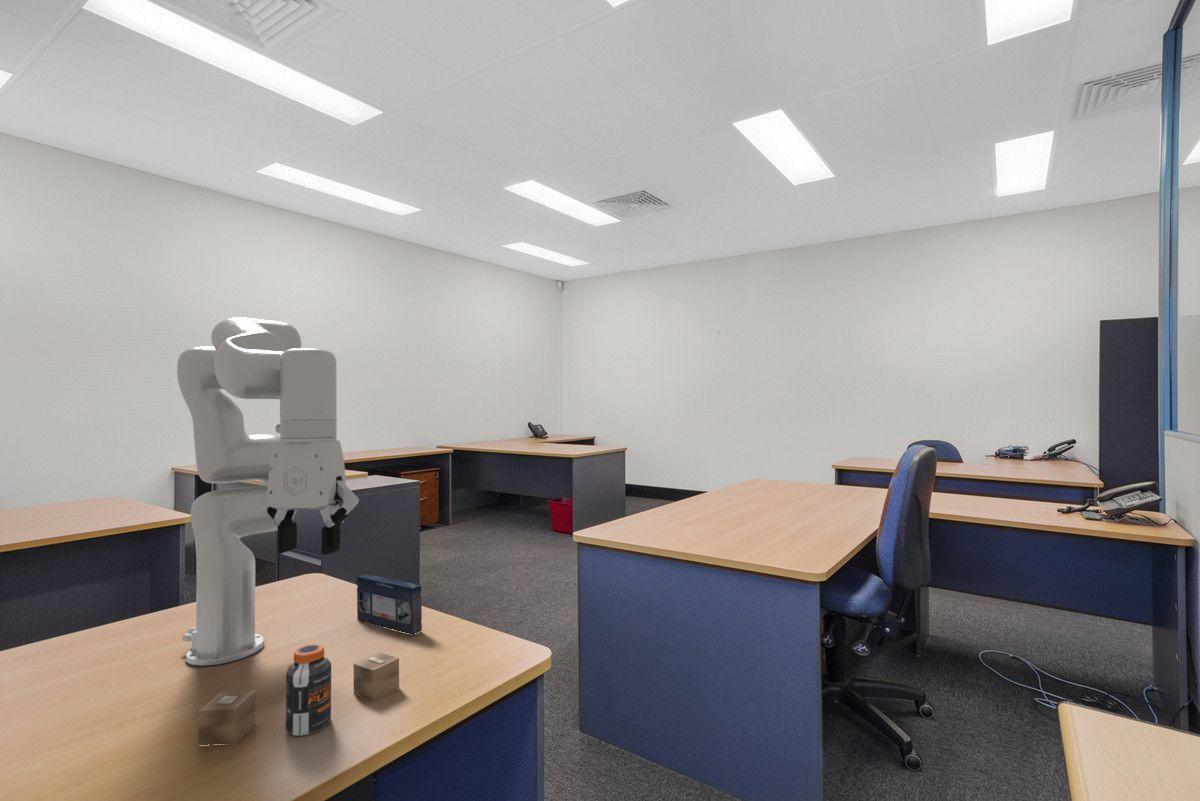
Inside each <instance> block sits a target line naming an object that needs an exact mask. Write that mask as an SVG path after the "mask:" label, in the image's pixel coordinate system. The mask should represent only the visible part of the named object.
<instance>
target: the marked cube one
mask: <svg viewBox="0 0 1200 801" xmlns="http://www.w3.org/2000/svg"><path fill="white" fill-rule="evenodd" d="M197 714H198V716H197V717H198V720H197V723H198V724H197V725H198V726H197V727H198V728H197V729H198V732H197V735H198V736H197V737H198V740H197V743H198V744H197V746H198V745H208V744H209V745H213V744H214V745H215V744H217V745H218V744H236V743H237V742H238V741H239V740H240V739H241V738H242V737H243V736H244V735H245V734H246V733H247V732H248V733H249V732H250V731H251V729H252V728H253V727H255V725H256V690H248V691H229V692H226V691H225V692H219V693H218V694H217V695H216V696H214V697H213V698H212V699H211V700H210V701H208V703H205V705H203V706H202V707H201V708H200V709H199V710H198V712H197ZM248 733H247V734H248ZM247 734H246V735H247ZM246 735H245V736H246ZM245 736H244V737H245ZM244 737H243V738H244ZM243 738H242V739H243ZM242 739H241V740H242ZM241 740H240V741H241ZM240 741H239V742H240ZM239 742H238V743H239ZM238 743H237V744H238ZM237 744H236V745H237ZM218 746H219V745H218Z"/></svg>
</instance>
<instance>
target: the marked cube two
mask: <svg viewBox="0 0 1200 801" xmlns="http://www.w3.org/2000/svg"><path fill="white" fill-rule="evenodd" d="M399 688H400V658H399V657H397V656H393V655H390V654H387V653H383V652H381V651H378V652H376V653H374V654H372V655H370V656H368V657H366V658H363V659H361V660H358V661H356V662H354V663H353V695H356V696H358V697H360V698H363V699H366V700H369V701H370V702H376V701H377V700H379V699H381V698H382V697H384V696H386V695H387V696H388V695H389V694H390V693H392V692H394V691H396V690H398V689H399Z"/></svg>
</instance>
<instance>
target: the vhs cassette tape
mask: <svg viewBox="0 0 1200 801" xmlns="http://www.w3.org/2000/svg"><path fill="white" fill-rule="evenodd" d="M356 586H357V587H356V607H357V608H356V609H357V610H356V611H357V612H356V614H357V621H358V620H360V621H359V622H361V621H362V622H361V623H364V622H367V623H366V624H368V623H370V624H369V625H371V624H374V625H373V626H375V625H377V626H376V627H378V626H381V627H380V628H382V627H386V628H389V629H394V630H397V631H401V632H405V633H409V634H412V635H413V636H415V635H414V634H415V633H418V632H420V631H422V632H423V628H422V627H423V624H422V621H423V620H422V619H423V618H422V617H423V616H422V615H423V614H422V606H423V605H422V586H421V585H420V584H418V585H417V584H416V583H411V582H405V581H402V580H401V581H400V580H398V579H397V580H396V579H390V578H386V577H383V576H382V577H381V576H378V575H377V576H376V575H372V574H371V575H370V574H365V573H364V574H361V575H358V576H356ZM389 629H388V630H389ZM420 633H421V632H420ZM418 634H419V633H418Z"/></svg>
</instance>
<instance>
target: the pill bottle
mask: <svg viewBox="0 0 1200 801" xmlns="http://www.w3.org/2000/svg"><path fill="white" fill-rule="evenodd" d="M325 654H326V653H325V646H324V645H323V644H320V643H312V644H305V645H302V646H300V647H298V648H296V649H295V650H294V652H293V662H292V663H291V665H289V666H288V668H287V670H286V674H285V676H286V677H285V678H286V679H285V682H286V683H285V684H286V686H285V731H286V732H287V734H289V735H291V736H295V737H299V736H300V737H301V736H307V735H310V734H314V733H317V732H319V731H321V730H323V729H324V728H325V727H327V726H328V724H330V723H331V720H332V719H331V718H332V717H331V715H332V663H331V661H330V659H329V658H327V657H325Z"/></svg>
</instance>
